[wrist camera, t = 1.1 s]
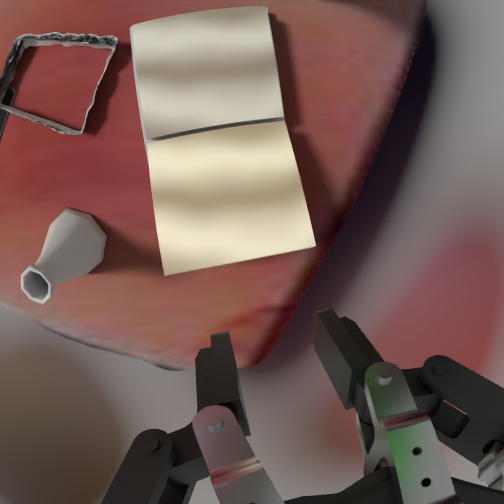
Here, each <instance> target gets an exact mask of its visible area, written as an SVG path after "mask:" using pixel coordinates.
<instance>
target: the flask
mask: <svg viewBox="0 0 504 504" xmlns="http://www.w3.org/2000/svg"><path fill="white" fill-rule="evenodd" d="M106 239H107V236H106V234H105V233H104V232H103V231H102V229H101V228H100V227H99V225H98V224H97V223H96V222H95V220H94V219H93V218H92V216H91V215H90V214H86V213H83V212H80V211H76V210H73V209H70V208H66V209H65V210H64V211H63V212H62V213H61V214H60V215H59V216H58V217H57V218H56V219H55V220H54V221H53V222H52V223H51V225H50V227H49V230H48V234H47V237H46V241H45V243H44V246H43V249H42V252H41V255H40V257H39V259H38V261H37V262H36V264H35V266H33V265H30V266H29V267H28V268H27V269H26V270H25V271H24V273H23V274H22V275H21V289H22V290H23V291H24V292H25V293H26V295H27V296H28V297H29V298H30V299H31V300H32V301H35V302H37V303H40V304H43V305H44V304H45V303H46V302H47V301H48V300H49V299H50V298H51V297H52V295H53V289H54V287H55V286H57V285H58V284H59V283H61V282H64V281H67V280H70V279H73V278H76V277H80V276H84V275H86V274H87V273H89V272H90V271H91V270H92V269H93V268H95V267H96V266H97V265H98V264H99V263H101V262H102V261H103V255H104V250H105V244H106Z"/></svg>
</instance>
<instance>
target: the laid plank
mask: <svg viewBox="0 0 504 504" xmlns="http://www.w3.org/2000/svg"><path fill="white" fill-rule="evenodd" d="M132 31H133V42H134V53H135V62H136V71H137V79H138V87H139V94H140V101H141V108H142V115H143V121H144V127H145V133H146V139H153V138H157V137H161V136H166V135H170V134H175V133H180V132H185V131H190V130H195V129H201V128H206V127H212V126H218V125H224V124H231V123H238V122H246V121H253V120H262V119H271V118H280V117H284V115H283V108H282V100H281V93H280V86H279V80H278V73H277V67H276V60H275V54H274V48H273V42H272V36H271V30H270V24H269V19H268V13H267V8H266V6H253V7H235V8H224V9H214V10H206V11H198V12H191V13H185V14H179V15H174V16H169V17H164V18H159V19H155V20H150V21H146V22H142V23H138V24H134V25H132Z"/></svg>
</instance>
